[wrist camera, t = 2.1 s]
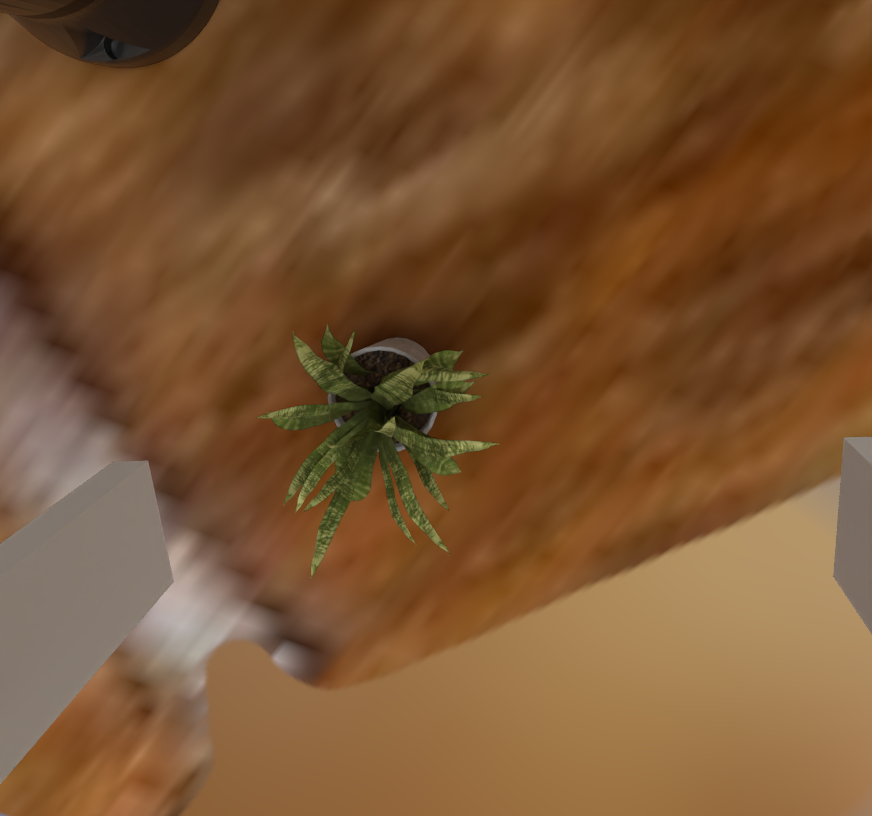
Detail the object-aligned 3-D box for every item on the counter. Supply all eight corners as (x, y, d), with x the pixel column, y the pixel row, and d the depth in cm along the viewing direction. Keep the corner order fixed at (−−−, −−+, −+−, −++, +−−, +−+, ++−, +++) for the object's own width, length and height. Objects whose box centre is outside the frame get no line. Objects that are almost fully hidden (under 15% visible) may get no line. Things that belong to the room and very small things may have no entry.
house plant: (474, 503, 58) (450, 635, 43) (294, 456, 58) (206, 570, 43) (524, 318, 53) (516, 393, 38) (326, 269, 54) (240, 323, 38)
